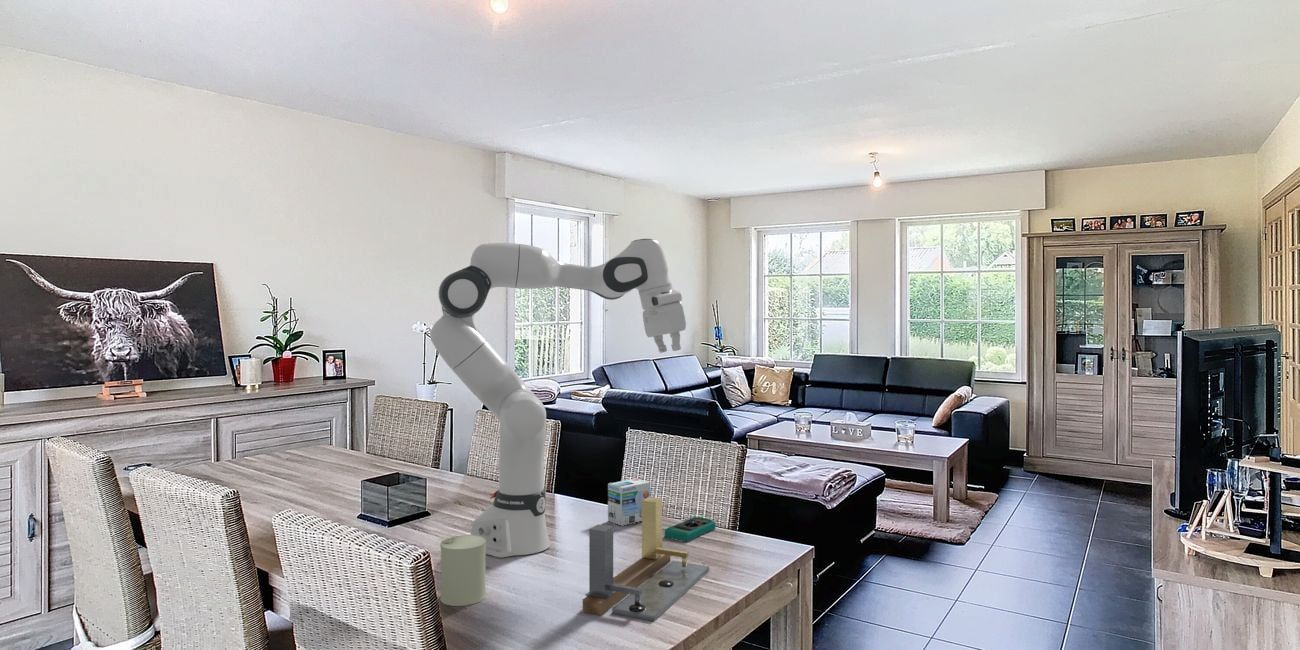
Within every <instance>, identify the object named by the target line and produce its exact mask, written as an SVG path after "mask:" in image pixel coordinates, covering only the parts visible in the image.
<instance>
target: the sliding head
mask: <svg viewBox="0 0 1300 650" xmlns="http://www.w3.org/2000/svg"><path fill="white" fill-rule="evenodd" d="M662 554H664V555H670V557H671V556H673V557H678V558H681V562H682V567H687V563H688V562H687V560H688V559H687V558H688V557H689V551H684V550H677V549H672V548H664V547H663V498H658V497H651V496H650V497H648V498H646V499H644V500H642V522H641V558H642V557H643V558H650V559H657V558H658V557H660V556H661V555H662Z"/></svg>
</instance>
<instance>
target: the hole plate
mask: <svg viewBox="0 0 1300 650" xmlns="http://www.w3.org/2000/svg"><path fill="white" fill-rule="evenodd" d="M709 572H710V566H709V565H702V564H696V563H690V562H687V567H682V561H678V560H672V561H670V562H669V563H668V564H666V565H665V566H664V567H663V568H661V569H660V570H659V571H657V572H656V573H655V574H654V575H652V576H651V577H650V578H648V579H647V580H646V581H644V582H643V583H642V584H641V585H639V586H638V588H642V594H641V595H640V606H635V595H632V594H628V595H626V596H625V597H624V598H623V599H621V600H620V601H619V602H617V603H616V604H615V605H614V606H612V607H611V608H612V609H611V612H612V614H615V615H620V616H625V617H631V618H634V619H635V618H636V619H640V620H645V621H650V622H655V621H656V620H657V619H659V617H660V616H662V615H663V614H664V613H665V612H666V611H667V610H668V609H670V607H672V606H673V605H674V604H675V602H677V601H678V600H679V599H680V598H681V597H682V596H684V595H685V594H686V593H687V592H688V591H689V590H690V589H691V588H692V587H693V586H694V585H696V584H697V583H698V582H699V581H701V580H702V578H703V577H705V576H706V574H707V573H709Z"/></svg>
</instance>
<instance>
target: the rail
mask: <svg viewBox="0 0 1300 650" xmlns="http://www.w3.org/2000/svg"><path fill="white" fill-rule="evenodd" d="M669 563H671V556H670V555H664V554H662V555H661V556H660V557H658V558H657V559H650V558H643V557H642V556H641V557H640V558H639V559H638V560H636V561H635V562H634V563H633V564H630V566H628V567H627V568H625V569H623V570H622V571H621V572H619V573H618V574H617V575H615V576H613V583H614V584H620V585H625V586H631V587H636V588H639V587H640V586H641V585H642V584H644V583H645V582H646V581H648V580H649V579H650V578H651V577H653V576H654V575H655V574H657V573H658V572H659V571H660V570H662V569H663V568H664V567H665V566H667V565H668V564H669ZM628 595H629V594H627V593H622V592H617V593H615V594H614V595H613V596H611V597H610V598H609V599H607V600H605V599H599V598H594V597H589V596H585V597H584V598H583V599H582V613H586V614H591V615H596V616H602V615H603V614H604V613H606V612H607V611H609V610H610V609H611V608H613V607H614V606H616V605H617V604H618V603H619V602H621V601H622V600H623V599H624V598H626V597H627V596H628Z"/></svg>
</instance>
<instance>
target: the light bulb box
mask: <svg viewBox="0 0 1300 650" xmlns="http://www.w3.org/2000/svg"><path fill="white" fill-rule="evenodd" d="M648 497H651V481H646V480H644V479H639V478H630V479H626V480H625V479H624V480H620V481H616V482H609V483H607V522H609V521H610V522H609V523H612V522H613V523H612V524H615V523H616V524H615V525H617V524H618V526H620V525H621V527H625V526H628V525H627V524H629V525H632V523H633V524H636V523H635V522H638V523H640V522H639V521H642V500H644V499H646V498H648ZM624 525H625V526H624Z"/></svg>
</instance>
